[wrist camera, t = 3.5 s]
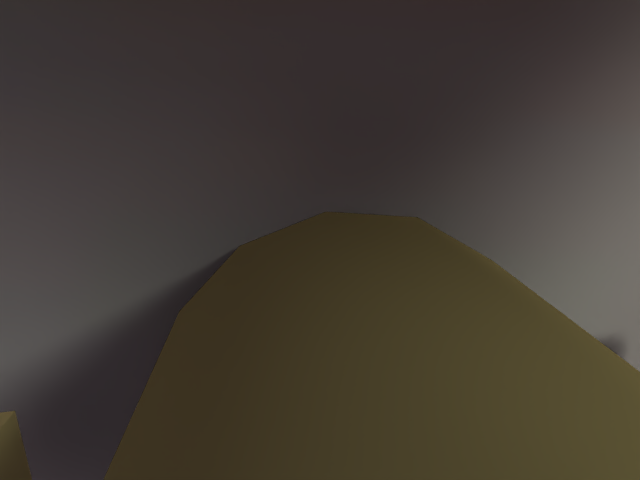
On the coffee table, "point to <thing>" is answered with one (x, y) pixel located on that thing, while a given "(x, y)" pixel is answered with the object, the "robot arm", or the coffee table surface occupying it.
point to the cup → (378, 369)
